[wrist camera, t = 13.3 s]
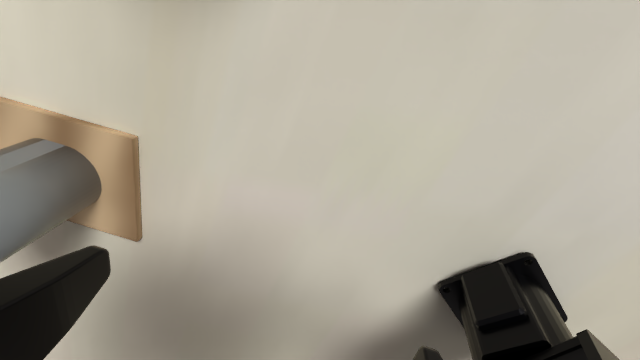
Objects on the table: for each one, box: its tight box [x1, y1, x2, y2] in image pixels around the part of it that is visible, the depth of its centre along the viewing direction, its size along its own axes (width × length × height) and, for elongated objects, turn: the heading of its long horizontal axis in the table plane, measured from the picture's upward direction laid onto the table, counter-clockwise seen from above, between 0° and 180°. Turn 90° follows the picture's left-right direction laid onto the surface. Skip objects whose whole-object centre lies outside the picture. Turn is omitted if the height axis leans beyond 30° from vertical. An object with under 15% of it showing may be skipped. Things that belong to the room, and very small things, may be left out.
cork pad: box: [0, 97, 142, 242], centre depth 25 cm, size 12×9×1 cm
